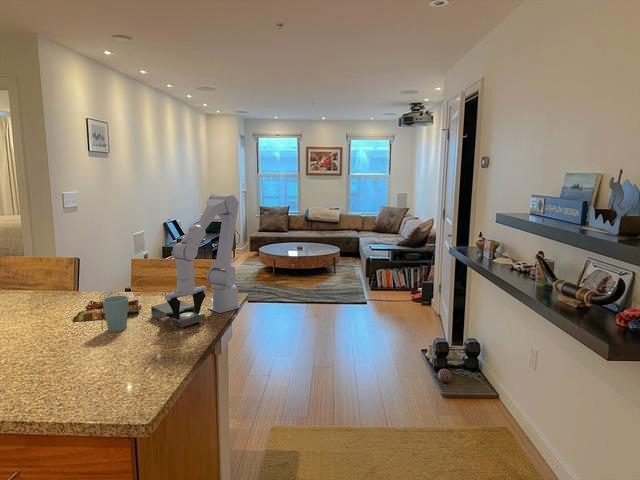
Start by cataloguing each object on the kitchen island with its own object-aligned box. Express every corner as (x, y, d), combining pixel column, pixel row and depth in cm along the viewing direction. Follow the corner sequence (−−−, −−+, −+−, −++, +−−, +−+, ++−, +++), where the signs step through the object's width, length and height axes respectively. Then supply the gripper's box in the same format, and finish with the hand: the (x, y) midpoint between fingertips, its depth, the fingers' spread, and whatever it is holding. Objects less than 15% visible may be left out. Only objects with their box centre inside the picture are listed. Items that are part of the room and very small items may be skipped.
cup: (130, 331, 133) (127, 300, 132) (103, 334, 130) (101, 303, 128) (130, 323, 140) (128, 294, 138) (105, 326, 137) (103, 297, 135)
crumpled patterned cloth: (146, 304, 163) (145, 295, 163) (137, 320, 145) (137, 311, 145) (85, 308, 158) (84, 299, 157) (69, 325, 140) (68, 315, 139)
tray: (189, 314, 147) (189, 307, 147) (205, 320, 141) (204, 314, 141) (167, 320, 141) (166, 313, 141) (181, 327, 134) (181, 320, 134)
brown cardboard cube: (168, 327, 136) (167, 316, 136) (173, 330, 134) (172, 318, 134) (160, 330, 134) (159, 318, 134) (164, 332, 132) (163, 321, 132)
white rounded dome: (199, 319, 141) (198, 315, 140) (184, 323, 136) (184, 319, 136) (190, 315, 144) (190, 311, 144) (175, 319, 140) (175, 315, 140)
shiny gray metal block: (179, 310, 154) (179, 299, 154) (195, 317, 147) (195, 305, 147) (151, 317, 146) (151, 306, 146) (166, 325, 139) (166, 313, 138)
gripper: (198, 272, 146) (199, 308, 148) (159, 279, 135) (161, 318, 137) (209, 275, 141) (210, 312, 143) (170, 283, 131) (172, 323, 133)
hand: (187, 315), depth 140 cm, fingers open, 7 cm apart
